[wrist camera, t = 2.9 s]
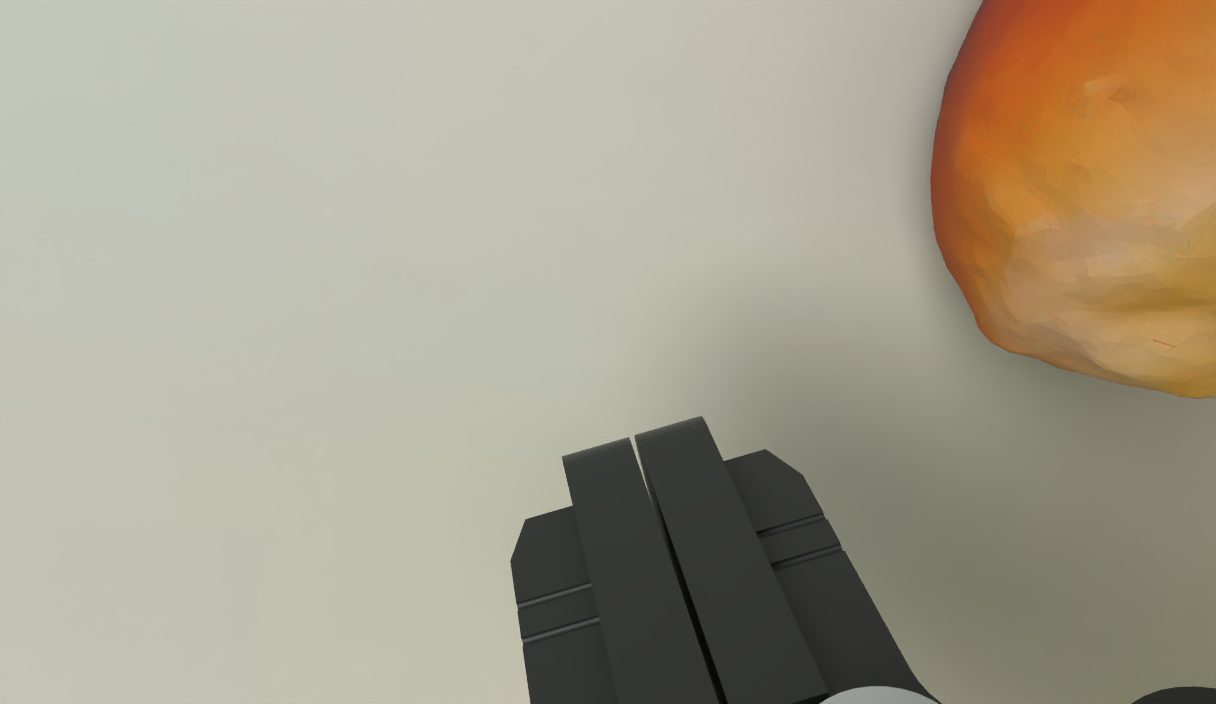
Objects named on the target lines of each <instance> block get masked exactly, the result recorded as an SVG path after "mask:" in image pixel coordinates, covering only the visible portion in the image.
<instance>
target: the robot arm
mask: <svg viewBox="0 0 1216 704" xmlns="http://www.w3.org/2000/svg"><path fill="white" fill-rule="evenodd" d="M635 441H636V446H637V450H638V454H639V458H640V462H641V466H642V469H643V473H644V477H645V481H646V485H647V489H648V492H647V489H646V486H645V483H644V480H643V477H642V474H641V471H640V468H639V465H638V462H637V459H636V456H635V453H634V450H633V447H632V444H631V441H630V439H629V437H628V438H624V439H621V440H617V441H614V442H611V443H607V444H604V445H600V446H597V447H593V448H590V449H586V450H583V451H579V452H576V453H572V454H569V455H566V456H562V460H563V465H564V469H565V473H566V478H567V482H568V486H569V491H570V495H571V499H572V503H573V506H570V507H566V508H563V509H559V510H556V511H553V512H549V513H546V514H542V515H539V516H535V517H532V518H529V519H525V522H524V525H523V527H522V530H521V533H520V536H519V539H518V541H517V544H516V547H515V550H514V552H513V555H512V558H511V561H510V562H511V569H512V576H513V583H514V590H515V597H516V603H517V607H518V618H519V625H520V632H521V638H522V642H523V653H524V660H525V668H526V675H527V682H528V689H529V696H530V703H531V704H942V703H940V702H939V701H938V700H937V699H935V698H934V697H933V696H932V695H931V694H929V693H928V691H927V690H926V689H925V688H924V687H923V686H922V685H921V684H920V683H919V682H918V680H917V679H916V677H915V676H914V674H913V673H912V671H911V670H910V668H909V666H908V664H907V662H906V661H905V659H904V657H903V655H902V653H901V652H900V650H899V648H898V646H897V644H896V643H895V641H894V639H893V637H892V635H891V634H890V632H889V630H888V628H887V626H886V625H885V623H884V621H883V619H882V617H881V616H880V614H879V612H878V610H877V608H876V607H875V605H874V603H873V601H872V599H871V597H870V596H869V594H868V592H867V590H866V588H865V587H864V585H863V583H862V581H861V579H860V578H859V576H858V574H857V572H856V570H855V569H854V567H853V565H852V563H851V561H850V560H849V558H848V556H847V554H846V552H845V551H843V550H842V548H841V544H840V541H839V540H838V538H837V536H836V534H835V532H834V531H833V529H832V527H831V525H830V523H829V522H828V520H826V519H825V517H824V514H823V511H822V509H821V507H820V505H819V504H818V502H817V500H816V498H815V496H814V495H813V493H812V491H811V489H810V487H809V486H808V484H807V482H806V480H805V478H804V476H803V475H802V474H800V473H799V472H798V471H796V470H795V469H793V468H792V467H790V466H789V465H788V464H786V463H785V462H783V461H782V460H780V459H779V458H778V457H776V456H775V455H773V454H772V453H770V452H769V451H767V450H766V449H764V450H761V451H757V452H754V453H751V454H747V455H744V456H740V457H737V458H733V459H730V460H727V461H723V459H722V457H721V455H720V453H719V451H718V448H717V446H716V444H715V442H714V440H713V437H712V435H711V433H710V431H709V429H708V426H707V424H706V422H705V420H704V419H703V417H702V416H699V417H696V418H692V419H689V420H686V421H682V422H679V423H675V424H672V425H668V426H665V427H661V428H658V429H654V430H651V431H647V432H644V433H641V434H637V435H635ZM648 493H649V495H648ZM649 497H650V498H649ZM650 500H651V501H650ZM1132 704H1216V689H1215V688H1205V687H1175V688H1170V689H1164V690H1159V691H1157V692H1154V693H1151V694H1148V695H1146V696H1143V697H1142V698H1140V699H1138V700H1137V701H1135V702H1133V703H1132Z"/></svg>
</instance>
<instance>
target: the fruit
mask: <svg viewBox="0 0 1216 704" xmlns="http://www.w3.org/2000/svg"><path fill="white" fill-rule="evenodd" d="M931 201H932V212H933V222H934V230H935V236H936V240H937V243H938V245H939V248H940V250H941V253H942V255H943V258H944V260H945V263H946V265H947V268H948V269H949V271H950V272H951V274H952V275H953V277H954V279H955V280H956V282H957V283H958V285H959V286H960V288H961V290H962V291H963V293H964V295H965V297H966V299H967V301H968V303H969V305H970V307H971V309H972V311H973V313H974V315H975V319H976V322H977V325H978V327H979V329H980V330H981V331H982V333H983V334H984V335H985V336H986V337H987V338H988V339H989V340H990V341H991V342H992V343H994V344H996V345H997V346H999V347H1001V348H1003V349H1005V350H1007V351H1009V352H1012V353H1017V354H1022V355H1026V356H1029V357H1033V358H1037V359H1040V360H1042V361H1044V362H1046V363H1048V364H1050V365H1053V366H1055V367H1057V368H1061V369H1065V370H1069V371H1073V372H1077V373H1081V374H1085V375H1089V376H1092V377H1096V378H1100V379H1104V380H1108V381H1112V382H1116V383H1120V384H1124V385H1129V386H1135V387H1140V388H1145V389H1151V390H1156V391H1162V392H1166V393H1169V394H1172V395H1176V396H1179V397H1186V398H1212V397H1216V0H984V1H983V3H982V4H981V6H980V8H979V10H978V12H977V14H976V16H975V18H974V20H973V23H972V25H971V27H970V29H969V31H968V34H967V36H966V38H965V40H964V42H963V45H962V47H961V49H960V51H959V54H958V56H957V58H956V60H955V62H954V65H953V67H952V69H951V71H950V73H949V75H948V78H947V82H946V85H945V89H944V95H943V100H942V106H941V111H940V115H939V118H938V122H937V127H936V131H935V140H934V148H933V157H932V167H931Z"/></svg>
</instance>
